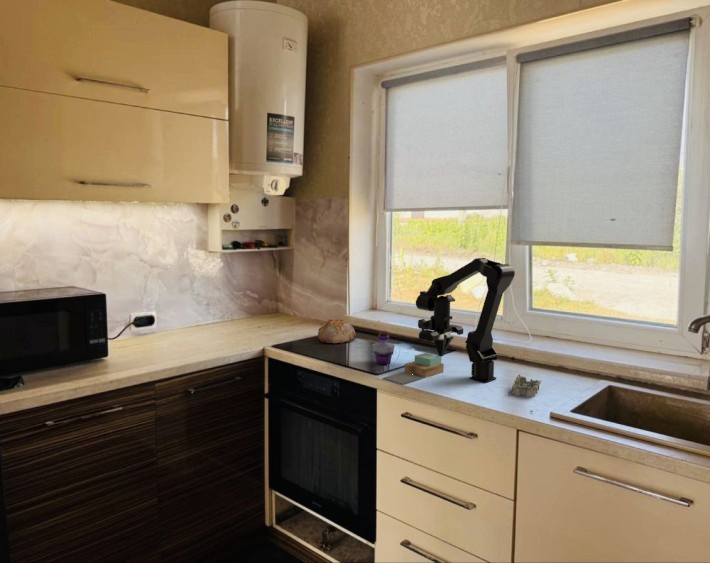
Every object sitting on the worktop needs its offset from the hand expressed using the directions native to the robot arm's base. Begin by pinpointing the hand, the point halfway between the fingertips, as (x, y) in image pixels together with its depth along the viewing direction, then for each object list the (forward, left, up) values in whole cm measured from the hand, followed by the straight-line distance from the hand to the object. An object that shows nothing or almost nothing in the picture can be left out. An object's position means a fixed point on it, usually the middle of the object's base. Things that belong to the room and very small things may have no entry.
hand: (441, 356), depth 196 cm
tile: (0, +7, 0) cm, 7 cm away
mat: (0, +20, -4) cm, 21 cm away
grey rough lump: (-35, +2, -4) cm, 35 cm away
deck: (0, +9, -4) cm, 10 cm away
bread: (+58, -2, -4) cm, 58 cm away
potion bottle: (+18, +11, -4) cm, 21 cm away
